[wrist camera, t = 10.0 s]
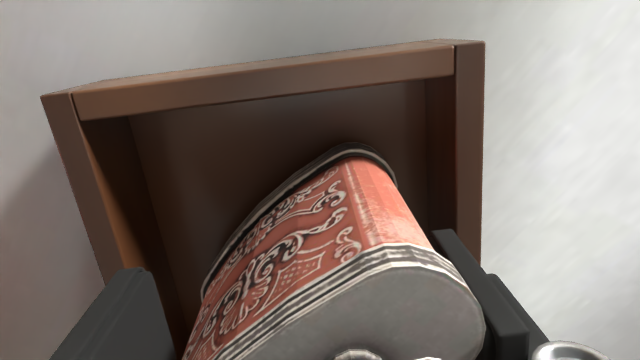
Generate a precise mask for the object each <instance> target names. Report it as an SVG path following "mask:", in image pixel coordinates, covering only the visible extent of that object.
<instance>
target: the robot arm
mask: <svg viewBox="0 0 640 360" xmlns="http://www.w3.org/2000/svg"><path fill="white" fill-rule="evenodd" d="M426 238H427V239H428V241H429V243H430V244H431V246H432V248H433V249H434V251H435V252H436V253H438V254H439V255H441V256H442V257H444V258H445V259H447V260H448V261H450V262H451V263H452V265H453V266H454V267H455V269H456V270H457V271H458V273H459V274H460V276H461V277H462V278H463V280H464V281H465V283H466V284H467V286H468V287H469V289H470V290H471V292H472V293H473V295H474V296H475V298H476V300H477V301H478V303H479V304H480V306H481V309H482V313H483V317H484V321H485V325H486V331H485V336H484V342H483V347H482V349H481V351H480V352H479V354H478V356H477V357H476V359H475V360H611V359H609V358H608V357H606V356H605V355H604V354H602V353H601V352H599V351H597V350H595V349H593V348H590V347H588V346H586V345H582V344H579V343H575V342H569V341H552V342H550V341H549V340H548V338H547V337H546V336H545V335H544V333H543V332H542V331H541V330H540V328H539V327H538V326H537V325H536V323H535V322H534V321H533V320H532V318H531V317H530V316H529V315H528V313H527V312H526V311H525V310H524V308H523V307H522V306H521V305H520V303H519V302H518V301H517V300H516V298H515V297H514V296H513V295H512V293H511V292H510V291H509V290H508V288H507V287H506V286H505V285H504V283H503V282H502V281H501V280H500V278H499V277H498V276H497V275H495V274H486V273H485V272H484V270H483V269H482V268H481V266H480V265H479V264H478V262H477V261H476V260H475V258H474V257H473V256H472V254H471V253H470V252H469V251H468V249H467V248H466V247H465V245H464V244H463V243H462V241H461V240H460V239H459V237H458V236H457V235H456V233H455V232H454V231H453V230H452V229H444V230H436V231H430V232H429V236H428V237H426ZM49 360H176V352H175V348H174V345H173V342H172V338H171V335H170V331H169V328H168V325H167V321H166V318H165V315H164V311H163V308H162V304H161V301H160V298H159V294H158V291H157V288H156V284H155V281H154V278H153V275H152V273H151V272H149V271H148V272H146V271H145V269H144V268H143V267H136V268H128V269H120V270H118V271H117V272H116V273H115V274H114V276H113V277H112V278H111V280H110V281H109V282H108V284H107V285H106V286H105V287H104V289H103V290H102V291H101V293H100V294H99V295H98V297H97V298H96V299H95V300H94V302H93V303H92V304H91V306H90V307H89V308H88V310H87V311H86V312H85V313H84V315H83V316H82V317H81V319H80V320H79V321H78V323H77V324H76V325H75V326H74V328H73V329H72V330H71V332H70V333H69V334H68V336H67V337H66V338H65V339H64V341H63V342H62V343H61V345H60V346H59V347H58V349H57V350H56V351H55V352H54V354H53V355H52V356H51V358H50V359H49Z"/></svg>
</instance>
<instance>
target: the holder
mask: <svg viewBox="0 0 640 360" xmlns="http://www.w3.org/2000/svg"><path fill="white" fill-rule="evenodd" d="M484 78H485V42H484V41H476V40H456V39H434V40H425V41H417V42H409V43H401V44H393V45H385V46H377V47H369V48H360V49H352V50H344V51H336V52H328V53H320V54H312V55H304V56H295V57H287V58H279V59H271V60H263V61H255V62H247V63H239V64H231V65H222V66H214V67H206V68H198V69H190V70H182V71H174V72H166V73H157V74H149V75H141V76H133V77H125V78H117V79H109V80H102V81H98V82H94V83H90V84H85V85H81V86H77V87H73V88H69V89H65V90H61V91H57V92H53V93H49V94H45V95H42V96H40V99H41V101H42V104H43V107H44V110H45V113H46V116H47V119H48V122H49V125H50V127H51V130H52V133H53V136H54V139H55V142H56V145H57V148H58V150H59V153H60V156H61V159H62V162H63V165H64V168H65V171H66V174H67V176H68V179H69V182H70V185H71V188H72V191H73V194H74V197H75V199H76V202H77V205H78V208H79V211H80V214H81V217H82V220H83V223H84V225H85V228H86V231H87V234H88V237H89V240H90V243H91V246H92V248H93V251H94V254H95V257H96V260H97V263H98V266H99V269H100V272H101V274H102V277H103V280H104V283H105V286H106V285H107V284H108V282H109V281H110V280H111V278H112V277H113V276H114V274H115V273H116V272H117V271H118V270H120V269H128V268H136V267H143V268H144V269H145V271H146V272H148V271H149V272H151V273H152V275H153V278H154V281H155V284H156V288H157V291H158V294H159V298H160V301H161V304H162V308H163V311H164V315H165V318H166V321H167V325H168V328H169V331H170V335H171V338H172V342H173V345H174V348H175V352H176V360H182V357H183V355H184V352H185V349H186V346H187V344H188V341H189V338H190V335H191V333H192V330H193V327H194V324H195V322H196V319H197V316H198V314H199V311H200V308H201V305H202V301H201V288H202V286H203V283H204V280H205V278H206V275H207V272H208V270H209V268H210V266H211V265H212V263H213V262H214V260H215V259H216V257H217V256H218V254H219V253H220V251H221V250H222V248H223V247H224V245H225V244H226V242H227V241H228V239H229V238H230V236H231V235H232V234H233V233H234V231H235V230H236V229H237V228H238V227H239V226H240V225H241V224H242V222H243V221H244V220H245V219H246V218H247V217H248V216H249V214H250V213H251V212H252V211H253V210H254V209H255V208H256V206H257V205H258V204H259V203H260V202H261V201H262V200H264V199H265V198H266V197H267V196H268V195H269V194H271V193H272V192H273V191H274V190H275V189H276V188H278V187H279V186H280V185H281V184H282V183H283V182H285V181H286V180H287V179H288V178H289V177H291V176H292V175H293V174H294V173H295V172H297V171H298V170H300V169H301V168H303V167H304V166H306V165H307V164H309V163H310V162H312V161H313V160H315V159H316V158H318V157H319V156H321V155H322V154H324V153H325V152H327V151H328V150H330V149H331V148H333V147H335V146H338V145H340V144H342V143H352V142H358V143H361V144H364V145H367V146H370V147H372V148H373V149H374V150H376V151H377V152H379V153H380V154H381V155H382V156H383V158H384V159H385V161H386V162H387V163H388V165H389V166H390V168H391V169H392V171H393V172H394V175H395V178H396V182H397V185H398V188H397V190H398V191H399V193H400V195H401V196H402V198H403V200H404V201H405V203H406V205H407V206H408V208H409V210H410V211H411V213H412V215H413V216H414V218H415V220H416V221H417V223H418V225H419V226H420V228H421V229H422V231H423V233H424V234H425V236H426V237H428V236H429V232H430V231H436V230H444V229H452V230H453V231H454V232H455V233H456V235H457V236H458V237H459V239H460V240H461V241H462V243H463V244H464V245H465V247H466V248H467V249H468V251H469V252H470V253H471V254H472V256H473V257H474V258H475V260H476V261H477V262H478V264H479V265H480V264H481V218H482V171H483V124H484Z"/></svg>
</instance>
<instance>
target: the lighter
mask: <svg viewBox="0 0 640 360" xmlns="http://www.w3.org/2000/svg"><path fill="white" fill-rule="evenodd" d="M397 188H398V185H397V182H396V178H395V175H394V172H393V171H392V169H391V168H390V166H389V165H388V163H387V162H386V161H385V159H384V158H383V156H382V155H381V154H380V153H379V152H377V151H376V150H374V149H373V148H372V147H370V146H367V145H364V144H361V143H358V142H352V143H342V144H340V145H338V146H335V147H333V148H331V149H330V150H328V151H327V152H325V153H324V154H322V155H321V156H319V157H318V158H316V159H315V160H313V161H312V162H310V163H309V164H307V165H306V166H304V167H303V168H301V169H300V170H298V171H297V172H295V173H294V174H293V175H292V176H291V177H289V178H288V179H287V180H286V181H285V182H283V183H282V184H281V185H280V186H279V187H278V188H276V189H275V190H274V191H273V192H272V193H271V194H269V195H268V196H267V197H266V198H265V199H264V200H262V201H261V202H260V203H259V204H258V205H257V206H256V208H255V209H254V210H253V211H252V212H251V213H250V214H249V216H248V217H247V218H246V219H245V220H244V221H243V222H242V224H241V225H240V226H239V227H238V228H237V229H236V230H235V231H234V233H233V234H232V235H231V236H230V238H229V239H228V241H227V242H226V244H225V245H224V247H223V248H222V250H221V251H220V253H219V254H218V256H217V257H216V259H215V260H214V262H213V263H212V265H211V266H210V268H209V270H208V272H207V275H206V278H205V280H204V283H203V286H202V288H201V301H202V305H201V308H200V311H199V314H198V316H197V319H196V322H195V324H194V327H193V330H192V333H191V335H190V338H189V341H188V344H187V346H186V349H185V352H184V355H183V357H182V360H475V359H476V357H477V356H478V354H479V352H480V351H481V349H482V347H483V342H484V336H485V331H486V325H485V321H484V317H483V313H482V309H481V306H480V304H479V303H478V301H477V300H476V298H475V296H474V295H473V293H472V292H471V290H470V289H469V287H468V286H467V284H466V283H465V281H464V280H463V278H462V277H461V276H460V274H459V273H458V271H457V270H456V269H455V267H454V266H453V265H452V263H451V262H450V261H448V260H447V259H445V258H444V257H442V256H441V255H439V254H438V253H436V252H435V251H434V249H433V248H432V246H431V244H430V243H429V241H428V239H427V238H426V236H425V234H424V233H423V231H422V229H421V228H420V226H419V225H418V223H417V221H416V220H415V218H414V216H413V215H412V213H411V211H410V210H409V208H408V206H407V205H406V203H405V201H404V200H403V198H402V196H401V195H400V193H399V191H398V190H397Z"/></svg>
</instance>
